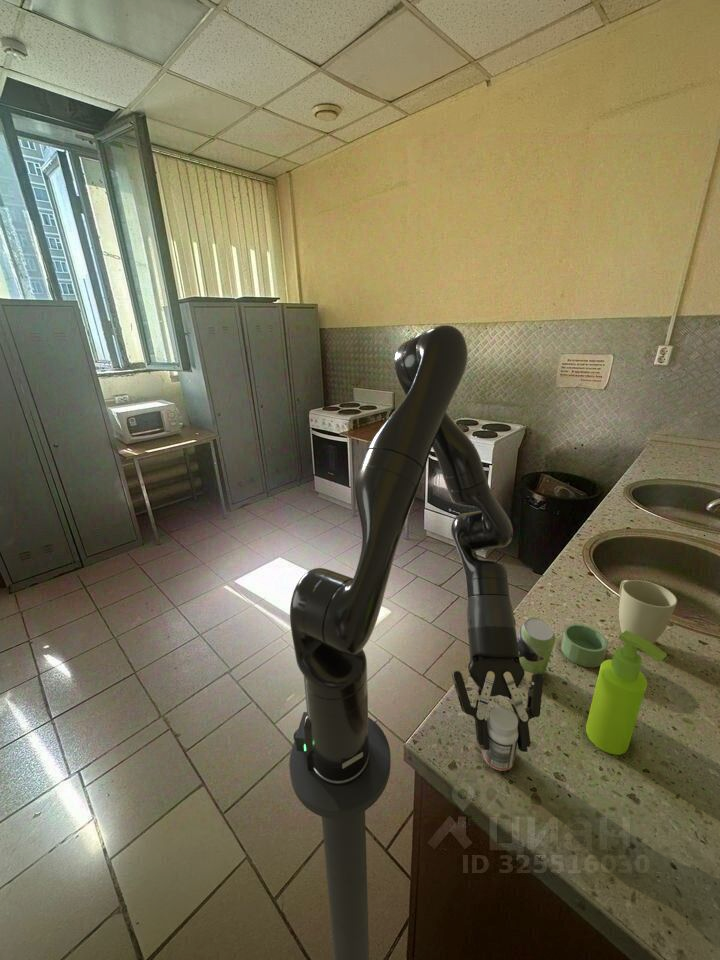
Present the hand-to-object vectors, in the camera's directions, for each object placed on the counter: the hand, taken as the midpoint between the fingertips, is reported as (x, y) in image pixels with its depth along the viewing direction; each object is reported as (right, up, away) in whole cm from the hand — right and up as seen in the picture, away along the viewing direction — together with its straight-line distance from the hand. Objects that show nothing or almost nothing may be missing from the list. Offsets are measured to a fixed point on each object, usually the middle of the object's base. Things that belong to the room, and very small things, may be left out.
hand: (503, 749), depth 58 cm
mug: (+37, +6, +26) cm, 46 cm away
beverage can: (+11, +2, +18) cm, 21 cm away
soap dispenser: (+19, -2, +5) cm, 20 cm away
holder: (+24, +4, +22) cm, 33 cm away
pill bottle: (0, -3, +3) cm, 5 cm away
